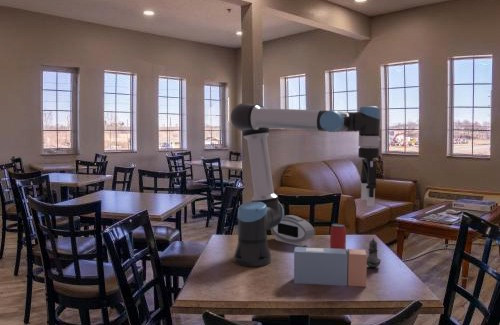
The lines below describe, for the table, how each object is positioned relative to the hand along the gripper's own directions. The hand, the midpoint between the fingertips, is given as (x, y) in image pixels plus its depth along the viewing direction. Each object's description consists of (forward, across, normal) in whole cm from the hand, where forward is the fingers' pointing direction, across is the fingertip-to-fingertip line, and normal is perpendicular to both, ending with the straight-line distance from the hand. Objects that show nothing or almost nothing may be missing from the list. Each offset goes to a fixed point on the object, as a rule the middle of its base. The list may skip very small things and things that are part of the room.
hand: (367, 202), depth 161 cm
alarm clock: (+26, +33, +29) cm, 51 cm away
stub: (+25, -19, +6) cm, 32 cm away
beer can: (+26, +19, +9) cm, 33 cm away
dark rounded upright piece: (+25, -2, -2) cm, 26 cm away
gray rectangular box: (+25, -18, +18) cm, 36 cm away
